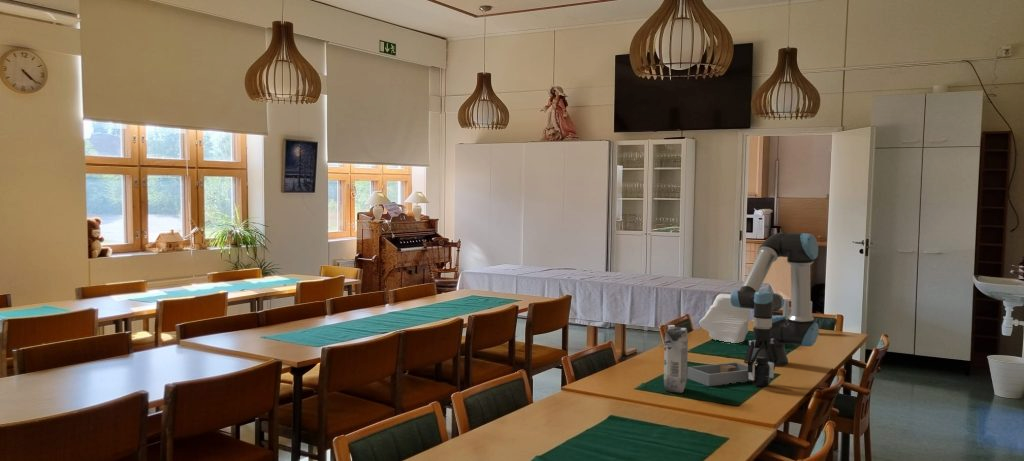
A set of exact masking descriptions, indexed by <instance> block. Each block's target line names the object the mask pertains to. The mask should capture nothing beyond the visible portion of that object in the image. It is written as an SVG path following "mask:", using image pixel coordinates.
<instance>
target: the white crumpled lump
mask: <svg viewBox="0 0 1024 461" xmlns="http://www.w3.org/2000/svg"><path fill="white" fill-rule="evenodd" d="M730 297H731V293H730V294H729V293H719V294H718V295H716V297H715V298H714V300H713V303H712V305H710V306H709V308H708V310H707V311H706V313H705V315H704V316H703V317H702V318H701V319H700V320H699V321H698V324H699V326H700V327H701V328H702V329H703V330H704V331H707V332H708V334H709V338H711V339H713V340H714V341H716V340H719V341H724V342H731V343H739V342H743V341H745V339H746V336H747V333H748V332H749V331H750V330H749V321H750V317H751V309H748V308H739V307H734V306H732V304H731V301H730ZM724 342H723V343H724ZM743 343H744V342H743Z"/></svg>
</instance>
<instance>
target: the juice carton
mask: <svg viewBox="0 0 1024 461" xmlns="http://www.w3.org/2000/svg"><path fill="white" fill-rule="evenodd" d="M688 336H689V335H688V329H687V327H680V326H679V327H678V326H676V325H674V324H670V325H668V326H667V329H666V330H665V336H664V348H663V349H664V352H663V355H664V356H663V357H664V359H663V385H664V386H663V387H664V391H665V392H671V393H681V394H682V393H683V392H684V391H685V388H686V385H687V381H688V378H687V373H688V355H689V354H688V352H689V351H688V350H689V349H688V348H689V346H688V343H689V337H688Z"/></svg>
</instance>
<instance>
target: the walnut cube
mask: <svg viewBox="0 0 1024 461" xmlns="http://www.w3.org/2000/svg"><path fill="white" fill-rule="evenodd" d="M733 371H737V367H735V366H731V365H723V366H720V373H724V372H733Z"/></svg>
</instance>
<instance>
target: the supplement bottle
mask: <svg viewBox="0 0 1024 461" xmlns="http://www.w3.org/2000/svg"><path fill="white" fill-rule="evenodd" d="M767 362H768V358H767V357H762V356H758V357H756V362H754V364H753V365H755V375H754V380H753V381H752V385H754V386H757V387H765V388H766V387H768V386H770V377H769V376H770V366H769V364H767Z"/></svg>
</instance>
